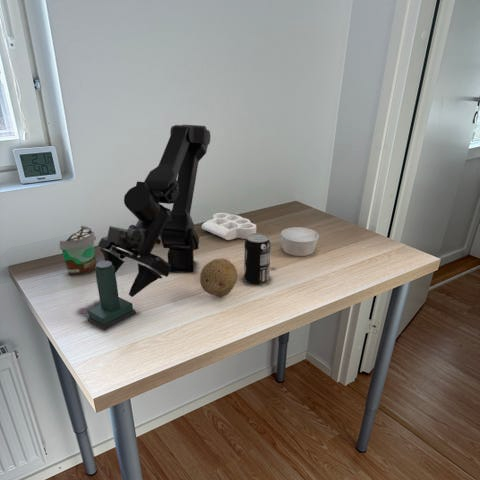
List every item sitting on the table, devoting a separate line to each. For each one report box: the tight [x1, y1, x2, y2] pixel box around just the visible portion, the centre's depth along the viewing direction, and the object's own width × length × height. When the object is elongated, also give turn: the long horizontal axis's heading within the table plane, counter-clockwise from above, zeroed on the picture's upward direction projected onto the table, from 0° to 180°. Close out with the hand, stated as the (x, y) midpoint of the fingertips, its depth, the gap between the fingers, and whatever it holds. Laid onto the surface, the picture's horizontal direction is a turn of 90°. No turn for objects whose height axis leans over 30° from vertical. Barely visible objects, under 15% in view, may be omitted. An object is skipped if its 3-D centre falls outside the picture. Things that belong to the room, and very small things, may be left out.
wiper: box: [86, 260, 137, 331], centre depth 103 cm, size 9×6×13 cm, turn 142°
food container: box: [59, 225, 97, 276], centre depth 125 cm, size 12×6×10 cm, turn 168°
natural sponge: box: [199, 257, 238, 298], centre depth 112 cm, size 9×9×10 cm
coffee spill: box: [79, 301, 101, 318], centre depth 110 cm, size 7×6×1 cm
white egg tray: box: [201, 212, 257, 241], centre depth 151 cm, size 3×18×15 cm
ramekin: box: [280, 226, 320, 257], centre depth 138 cm, size 11×11×5 cm
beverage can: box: [243, 232, 272, 286], centre depth 120 cm, size 7×7×12 cm
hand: (116, 289), depth 104 cm, fingers open, 9 cm apart
